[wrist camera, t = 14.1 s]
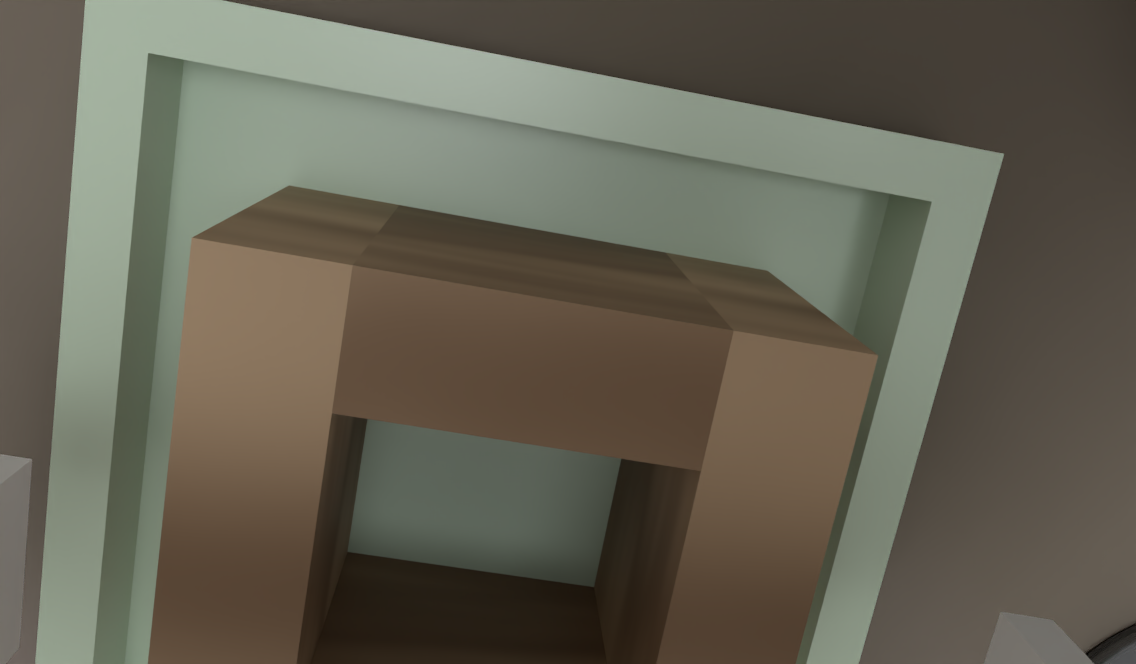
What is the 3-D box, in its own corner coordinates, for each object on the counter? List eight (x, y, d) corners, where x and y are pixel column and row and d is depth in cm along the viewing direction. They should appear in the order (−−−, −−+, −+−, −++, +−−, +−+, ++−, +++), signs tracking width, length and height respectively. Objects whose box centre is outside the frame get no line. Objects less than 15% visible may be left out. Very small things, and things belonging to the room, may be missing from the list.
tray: (142, -14, 18) (87, -26, 16) (943, 143, 20) (1004, 153, 17) (77, 722, 22) (24, 804, 19) (763, 807, 23) (792, 892, 21)
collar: (289, 185, 19) (191, 237, 13) (767, 270, 20) (878, 355, 14) (234, 627, 21) (129, 844, 15) (668, 685, 22) (728, 912, 16)
